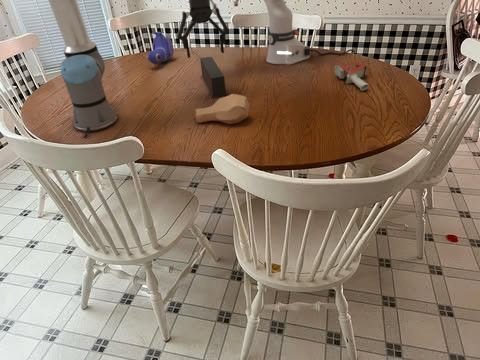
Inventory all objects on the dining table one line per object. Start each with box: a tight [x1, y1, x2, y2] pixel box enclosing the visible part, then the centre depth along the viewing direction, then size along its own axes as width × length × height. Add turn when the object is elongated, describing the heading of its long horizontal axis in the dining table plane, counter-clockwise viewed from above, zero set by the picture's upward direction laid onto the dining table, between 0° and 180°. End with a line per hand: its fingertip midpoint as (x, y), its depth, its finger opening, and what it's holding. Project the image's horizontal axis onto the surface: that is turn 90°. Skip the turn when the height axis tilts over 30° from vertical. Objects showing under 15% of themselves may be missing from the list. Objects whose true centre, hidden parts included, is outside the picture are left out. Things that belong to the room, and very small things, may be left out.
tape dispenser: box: [334, 61, 370, 92], centre depth 151 cm, size 18×5×20 cm
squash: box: [195, 93, 251, 125], centre depth 127 cm, size 11×20×9 cm, turn 92°
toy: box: [146, 31, 175, 69], centre depth 182 cm, size 10×17×25 cm
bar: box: [199, 56, 227, 99], centre depth 155 cm, size 28×5×8 cm, turn 14°
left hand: (205, 54), depth 142 cm, fingers open, 13 cm apart
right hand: (225, 7), depth 153 cm, fingers open, 8 cm apart
